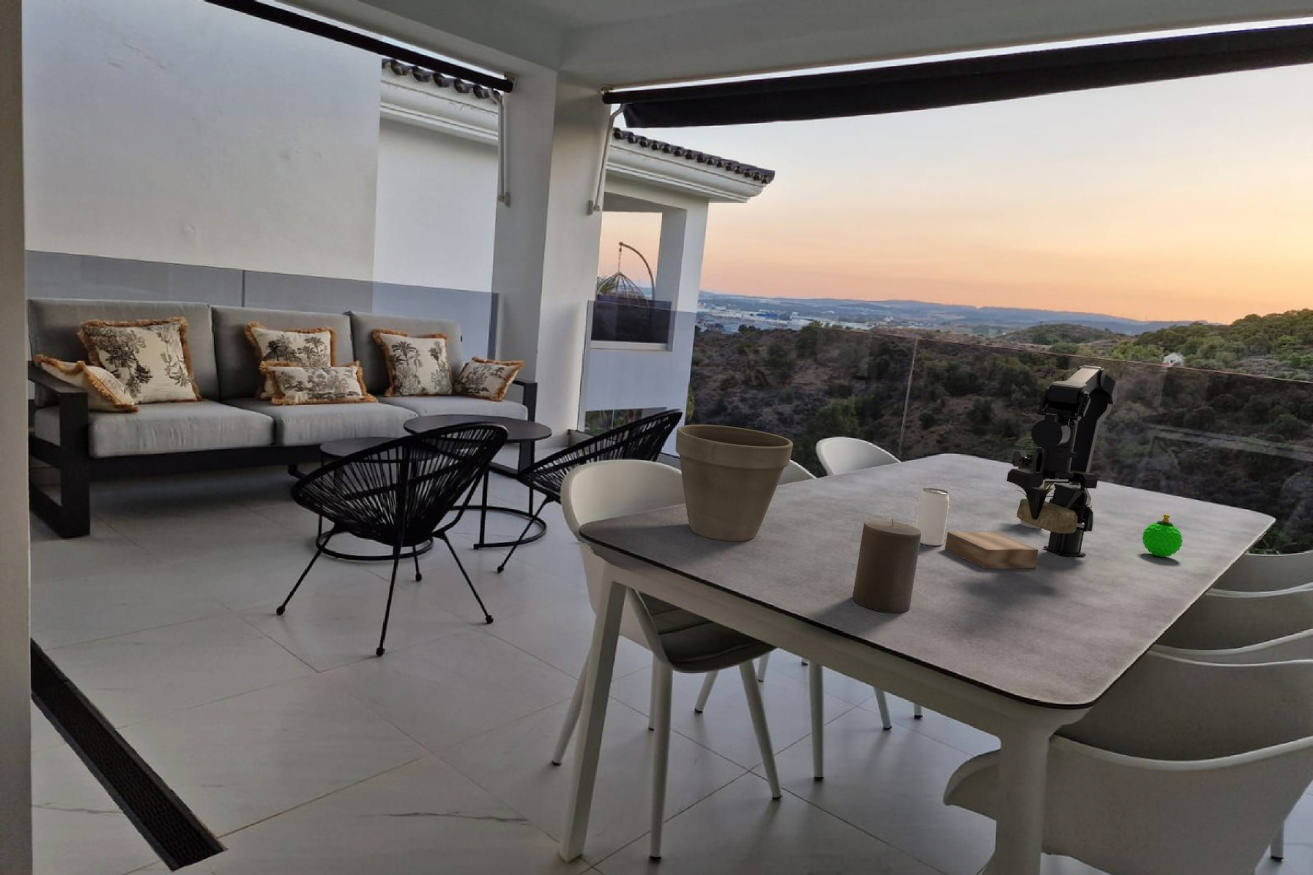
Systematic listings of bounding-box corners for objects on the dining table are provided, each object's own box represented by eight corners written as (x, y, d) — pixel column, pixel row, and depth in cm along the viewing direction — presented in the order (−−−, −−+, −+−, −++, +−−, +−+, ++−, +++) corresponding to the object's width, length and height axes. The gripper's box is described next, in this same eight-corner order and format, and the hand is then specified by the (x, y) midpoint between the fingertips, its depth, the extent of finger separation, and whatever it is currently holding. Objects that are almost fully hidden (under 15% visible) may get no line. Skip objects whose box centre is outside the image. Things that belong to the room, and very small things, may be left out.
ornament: (1141, 548, 202) (1148, 508, 200) (1180, 557, 197) (1188, 516, 196) (1137, 555, 195) (1145, 513, 194) (1177, 563, 190) (1186, 521, 189)
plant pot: (805, 543, 178) (818, 443, 175) (715, 554, 164) (726, 446, 161) (731, 514, 198) (741, 424, 195) (645, 521, 184) (654, 424, 181)
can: (944, 547, 185) (952, 495, 183) (914, 543, 186) (922, 491, 185) (940, 540, 192) (948, 489, 190) (911, 536, 193) (919, 485, 191)
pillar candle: (876, 614, 138) (889, 527, 136) (841, 594, 147) (853, 511, 144) (922, 612, 142) (936, 526, 140) (885, 592, 151) (897, 511, 148)
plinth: (993, 549, 188) (996, 532, 187) (1035, 567, 176) (1038, 549, 175) (944, 549, 184) (947, 531, 183) (984, 568, 172) (987, 549, 171)
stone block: (1055, 535, 167) (1059, 511, 166) (1013, 519, 177) (1016, 496, 176) (1077, 535, 169) (1081, 511, 168) (1034, 519, 179) (1037, 496, 179)
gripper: (1062, 439, 181) (1050, 509, 183) (993, 436, 175) (982, 509, 177) (1105, 449, 171) (1092, 523, 173) (1033, 446, 164) (1021, 523, 167)
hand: (1045, 519), depth 173 cm, fingers closed on stone block, 6 cm apart
